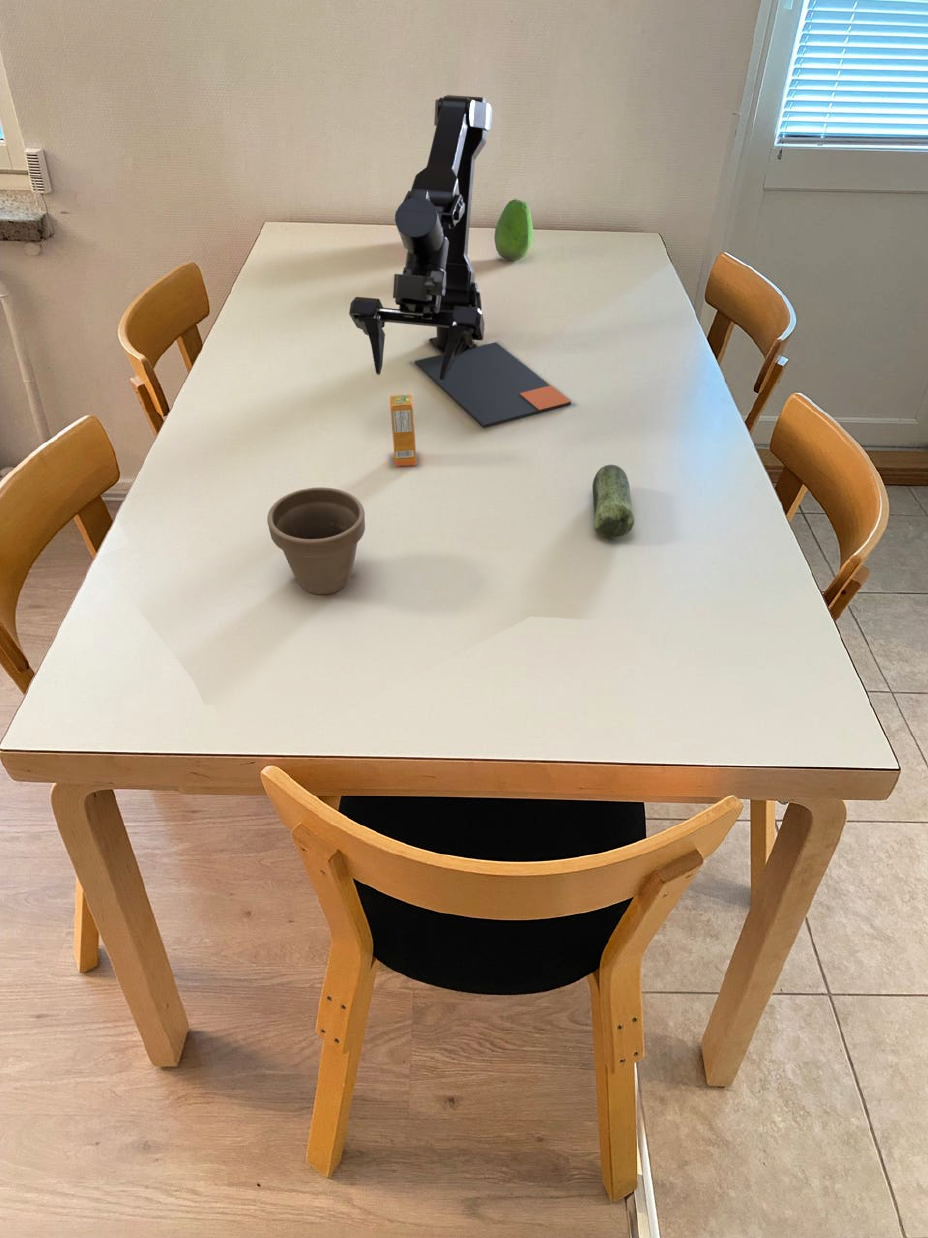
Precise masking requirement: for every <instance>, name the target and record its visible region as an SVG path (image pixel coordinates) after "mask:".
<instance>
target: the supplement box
mask: <svg viewBox="0 0 928 1238" xmlns="http://www.w3.org/2000/svg"><path fill="white" fill-rule="evenodd" d="M389 404H390V415H391V416H390V418H391V431H392V442H393V445H392V446H393V458H394V459H393V461H394V466H395V467H412V466H413V467H414V466H417V447H416V445H417V444H416V431H415V428H416V427H415V417H414V416H415V415H414V404H413V394H411V393H408V394H396V395H390V397H389Z"/></svg>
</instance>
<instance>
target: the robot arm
mask: <svg viewBox="0 0 928 1238" xmlns="http://www.w3.org/2000/svg"><path fill="white" fill-rule="evenodd" d="M492 122H493V106H492V105H491V104H490V103H488V102H486V97H484V96H482V97H481V96H470V95H469V96H467V95H452V94H451V95H450V94H447V95H444V96H442V97H439V98H438V99H435V103H434V121H433V123H434V124H433V126H434V127H435V130H434V134H433V139H432V143H431V148H430V151H429V156H428V159H427V164H426V166H425V167H424V168H423V169H422V170H421V171H419V172H418V173H417V174H415V176H414V179H413V183H412V184H411V188H410V190H408V191H407V193H406V195H405V197H404V198H403V201H402V202H401V204H400V205H398V207H397V210H395V214H394V222H395V225H396V228H397V231H398V233H399V236H400V239H401V241H402V244H403V247H404V249H405V250H407V251H406V258H405V265H404V267H403V270H402V273H394V274H393V275H394V276H393V288H392V289H393V291H392V298H393V299H394V303H395V305H396V306H398V308H390V307H384V306H383V304H382V302H381V299H380V298H375V297H374V298H373V297H365V296H364V297H363V296H355V297H354V298H353V299H352V300H351V302H350V306H349V312H348V315H349V317H350V318H351V320H352V322H353V323H354V325H355V327H356V328H357V329H359V330H362V332H363V334H364V335H366V336H368V339H369V342H370V346H371V352H372V357H373V363H374V369H375V370H374V371H375V373H376V375H377V376H380V375H381V372H382V368H383V360H384V350H385V340H386V339H385V338H386V333H385V330H384V329H383V328H384V327H385V325H386V323H389V324H391V323H393V324H401V325H402V324H403V325H413V326H422V327H423V326H424V327H426V326H427V327H434V328H436V336H435V337H430V338H428V343H429V344H430V345H431V346H433V347H434V348H435V349H436V350H437V351H439V352H440V353H441V355H442V354H444V356H443V360H442V365H441V369H440V381H443V380H444V379H445V377H446V375H447V374H448V372H449V370H450V368H451V367H452V365H453V363H454V361H455V360H456V358H457V357H458V356H459V354H460V353H461V352H462V351H464V350H468V349H471V348H476V347H477V346H478V345H477V344H476V343H475V341H480V342H481V341H482V340H484V335H485V320H484V315H483V311H482V296H481V292H480V290H479V286H478V283H477V282H475V281H476V272H475V270H474V268H473V266H472V263H471V261H470V258H469V257H468V249H469V236H470V226H471V225H470V224H471V214H472V213H471V212H472V202H473V188H474V178H475V177H474V176H475V175H474V174H475V164H476V163H475V162H476V159H477V158H478V156H479V154H480V153H481V151H482V150H483V149H484V147H485V146H486V144H487V137H488V131H491V128H492V124H493V123H492ZM442 228H443V231H442Z"/></svg>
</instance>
